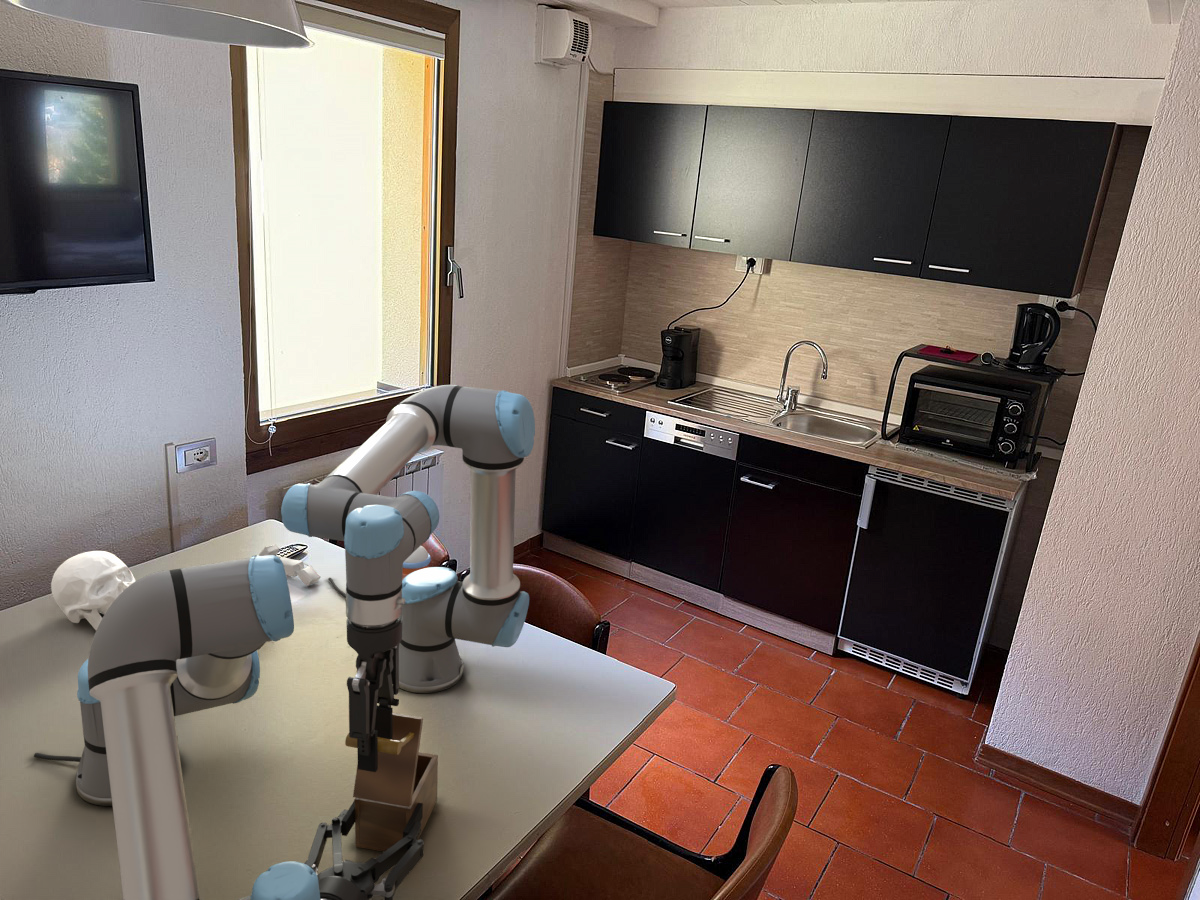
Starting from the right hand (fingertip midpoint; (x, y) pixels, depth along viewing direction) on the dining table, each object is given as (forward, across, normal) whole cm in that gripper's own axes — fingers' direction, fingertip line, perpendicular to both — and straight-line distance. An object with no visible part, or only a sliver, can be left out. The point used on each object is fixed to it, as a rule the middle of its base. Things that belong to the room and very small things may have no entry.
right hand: (375, 756), depth 126 cm
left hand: (+14, +6, 0) cm, 15 cm away
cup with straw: (+21, +85, +26) cm, 91 cm away
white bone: (+21, +86, +60) cm, 107 cm away
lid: (+4, +5, 0) cm, 7 cm away
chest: (+20, +9, 0) cm, 22 cm away
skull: (+20, +54, +87) cm, 104 cm away
